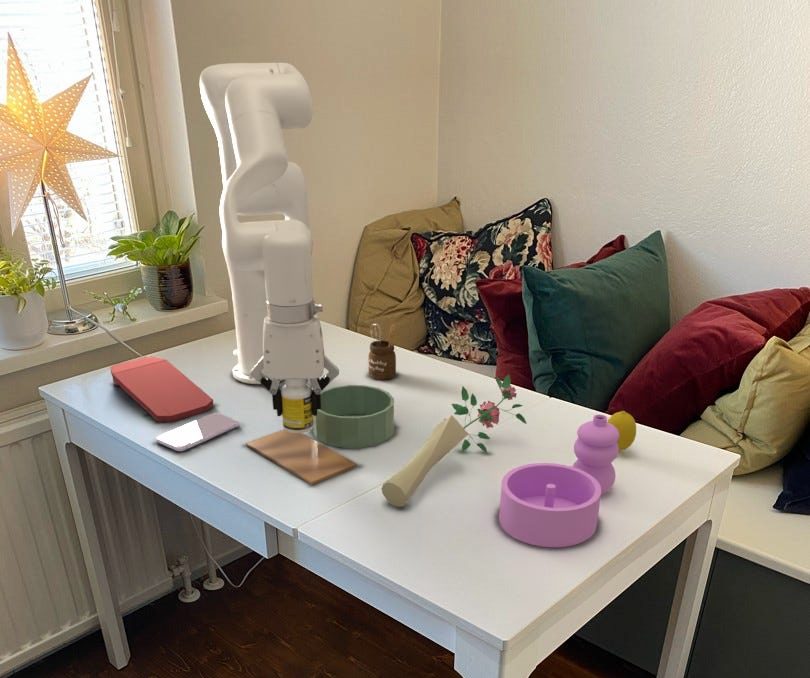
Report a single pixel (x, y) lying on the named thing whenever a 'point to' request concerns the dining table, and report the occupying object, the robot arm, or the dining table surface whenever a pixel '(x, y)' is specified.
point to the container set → (561, 491)
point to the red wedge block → (160, 388)
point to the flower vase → (445, 444)
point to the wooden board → (301, 456)
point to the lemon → (624, 428)
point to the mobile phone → (197, 432)
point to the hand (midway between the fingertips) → (297, 411)
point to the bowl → (354, 429)
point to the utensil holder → (382, 357)
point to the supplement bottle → (297, 406)
